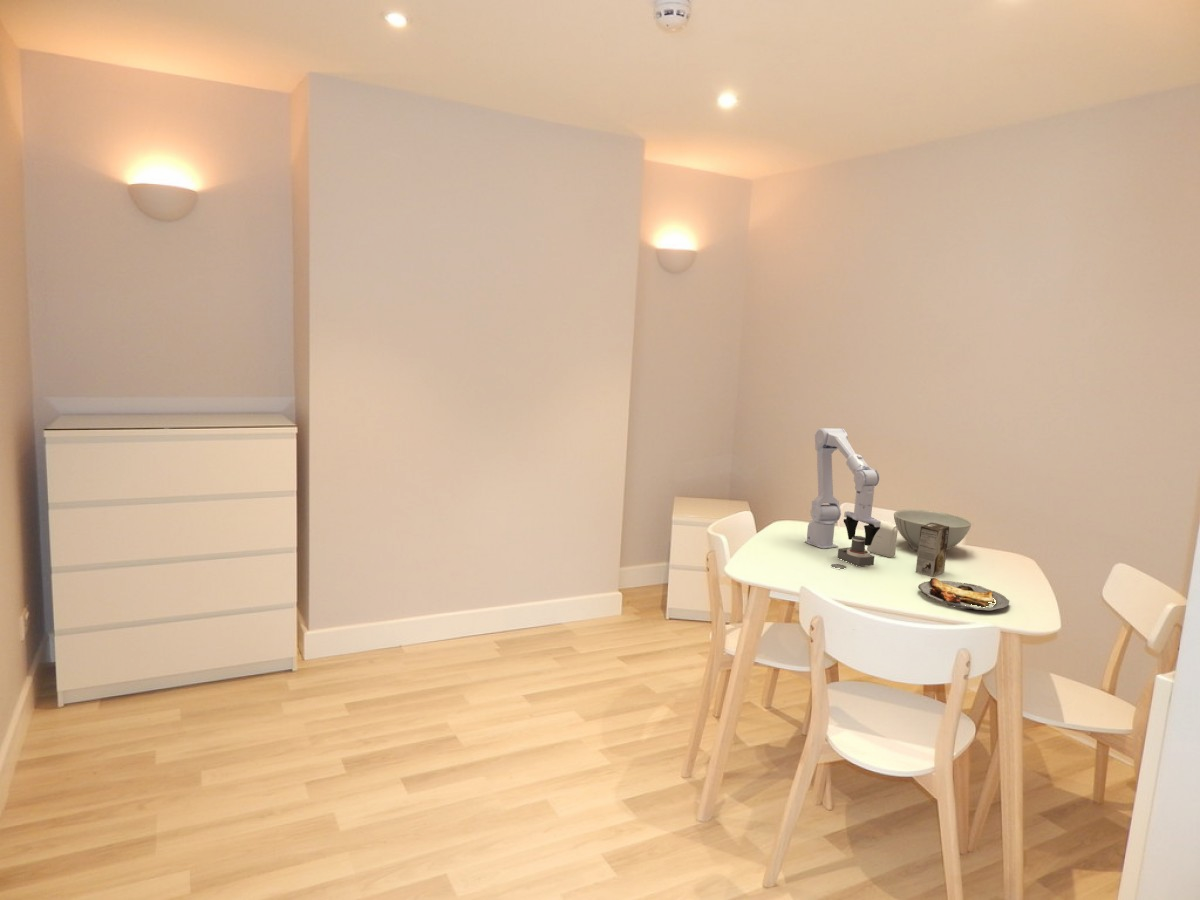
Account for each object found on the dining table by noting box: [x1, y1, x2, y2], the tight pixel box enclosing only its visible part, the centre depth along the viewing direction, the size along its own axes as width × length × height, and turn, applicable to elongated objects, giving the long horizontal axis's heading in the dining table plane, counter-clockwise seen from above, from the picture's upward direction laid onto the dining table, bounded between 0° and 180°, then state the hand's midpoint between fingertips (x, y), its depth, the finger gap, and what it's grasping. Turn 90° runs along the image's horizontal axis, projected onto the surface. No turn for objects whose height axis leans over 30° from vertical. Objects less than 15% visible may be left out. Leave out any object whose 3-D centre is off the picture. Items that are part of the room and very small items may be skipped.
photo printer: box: [866, 519, 899, 558], centre depth 280 cm, size 10×4×12 cm, turn 39°
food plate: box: [917, 577, 1010, 611], centre depth 235 cm, size 25×23×4 cm
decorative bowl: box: [893, 509, 972, 551], centre depth 291 cm, size 27×27×12 cm
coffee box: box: [915, 523, 949, 578], centre depth 261 cm, size 9×6×16 cm
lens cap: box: [830, 563, 847, 570], centre depth 262 cm, size 5×5×1 cm
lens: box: [850, 535, 866, 554], centre depth 268 cm, size 4×4×6 cm
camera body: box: [836, 546, 875, 567], centre depth 270 cm, size 10×8×4 cm
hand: (859, 542), depth 268 cm, fingers open, 7 cm apart
